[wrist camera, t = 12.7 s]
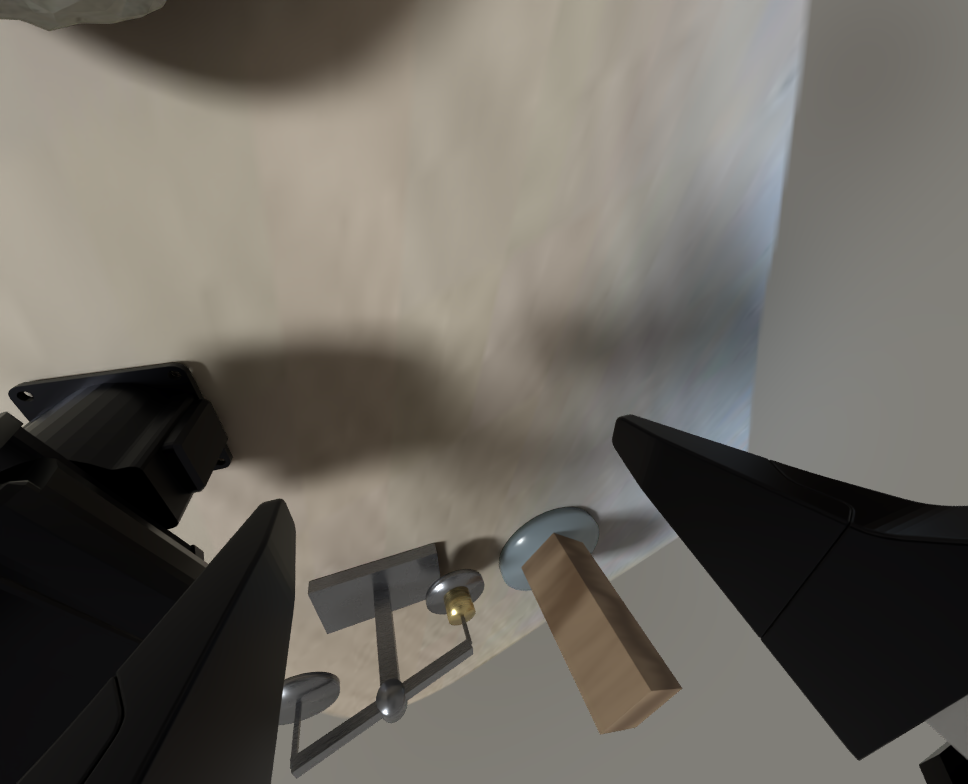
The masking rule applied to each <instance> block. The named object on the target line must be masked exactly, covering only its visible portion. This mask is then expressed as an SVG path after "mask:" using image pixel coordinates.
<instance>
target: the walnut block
mask: <svg viewBox="0 0 968 784" xmlns="http://www.w3.org/2000/svg"><path fill="white" fill-rule="evenodd" d="M521 568H522V570H523V573H524V575H525V577H526V579H527V581H528V583H529V585H530V587H531V589H532V592H533V594H534V596H535V598H536V600H537V602H538V604H539V606H540V608H541V611H542V613H543V615H544V617H545V619H546V621H547V623H548V625H549V627H550V630H551V632H552V634H553V636H554V638H555V640H556V642H557V644H558V646H559V649H560V651H561V653H562V655H563V657H564V659H565V661H566V663H567V665H568V667H569V670H570V672H571V674H572V676H573V678H574V680H575V682H576V684H577V687H578V689H579V691H580V693H581V695H582V697H583V699H584V701H585V703H586V706H587V708H588V709H589V712H590V714H591V716H592V718H593V720H594V722H595V725H596V727H597V728H598V731H599V733H600V734H605V733H610V732H615V731H620V730H625V729H630V728H635V727H637V726H638V725H639V724H640V723H641V722H643V721H644V720H645V719H646V718H647V717H649V716H650V715H651V714H652V713H653V712H655V711H656V710H657V709H658V708H659V707H661V706H662V705H663V704H664V703H665V702H667V701H668V700H669V699H670V698H671V697H672V696H674V695H675V694H676V693H677V692H679V691H680V690H681V689H682V687H681V686H680V684H679V683H678V681H677V680H676V678H675V677H674V676H673V674H672V672H671V671H670V670H669V668H668V667H667V665H666V664H665V662H664V661H663V659H662V658H661V656H660V655H659V653H658V652H657V650H656V649H655V648H654V646H653V645H652V643H651V642H650V640H649V639H648V637H647V636H646V634H645V633H644V631H643V630H642V629H641V627H640V626H639V624H638V623H637V621H636V620H635V618H634V617H633V615H632V614H631V612H630V611H629V610H628V608H627V607H626V605H625V604H624V602H623V601H622V599H621V598H620V596H619V595H618V593H617V592H616V591H615V589H614V588H613V586H612V585H611V583H610V582H609V580H608V579H607V577H606V576H605V574H604V573H603V571H602V570H601V569H600V567H599V566H598V564H597V563H596V561H595V560H594V558H593V557H592V555H591V554H590V552H589V551H588V550H587V548H586V547H585V545H584V544H583V543H582V542H579V541H577V540H574V539H571V538H568V537H565V536H562V535H559V534H556V533H553V534H552V535H551V536H550V537H549V538H548V539H547V540H546V541H545V542H544V543H543V544H542V545H541V546H540V548H539V549H538V550H537V551H536V552H535V553H534V554H533V555H532V556H531V557H530V558H529V559H528V560H527V561H526V562H525V564H524V565H523V566H522V567H521Z"/></svg>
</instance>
